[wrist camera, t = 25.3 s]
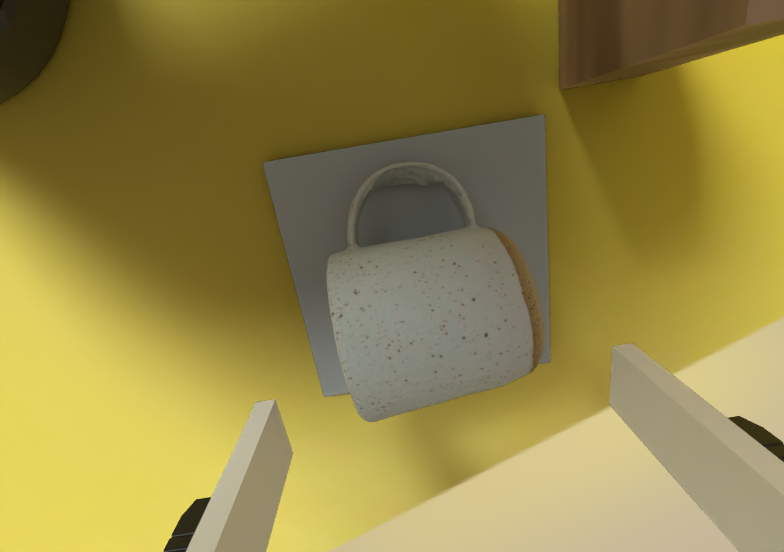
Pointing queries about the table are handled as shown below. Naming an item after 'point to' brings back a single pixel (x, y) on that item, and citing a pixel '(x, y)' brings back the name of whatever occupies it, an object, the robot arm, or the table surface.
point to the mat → (409, 210)
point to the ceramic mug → (430, 307)
